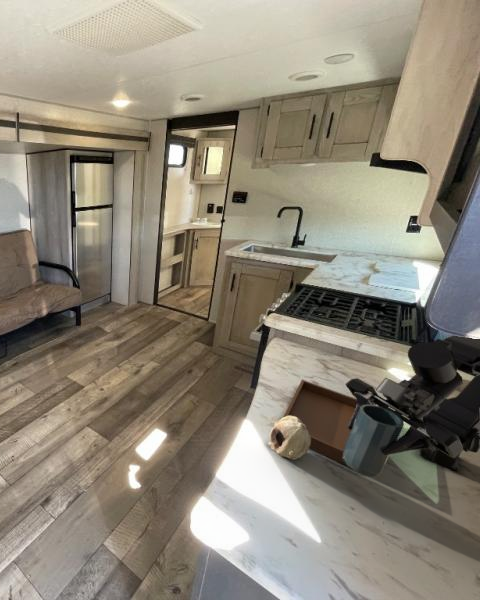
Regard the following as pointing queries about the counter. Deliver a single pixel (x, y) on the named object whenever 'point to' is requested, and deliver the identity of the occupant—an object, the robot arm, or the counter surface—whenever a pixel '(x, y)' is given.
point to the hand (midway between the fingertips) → (365, 440)
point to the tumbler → (371, 439)
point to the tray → (323, 417)
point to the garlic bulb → (290, 437)
